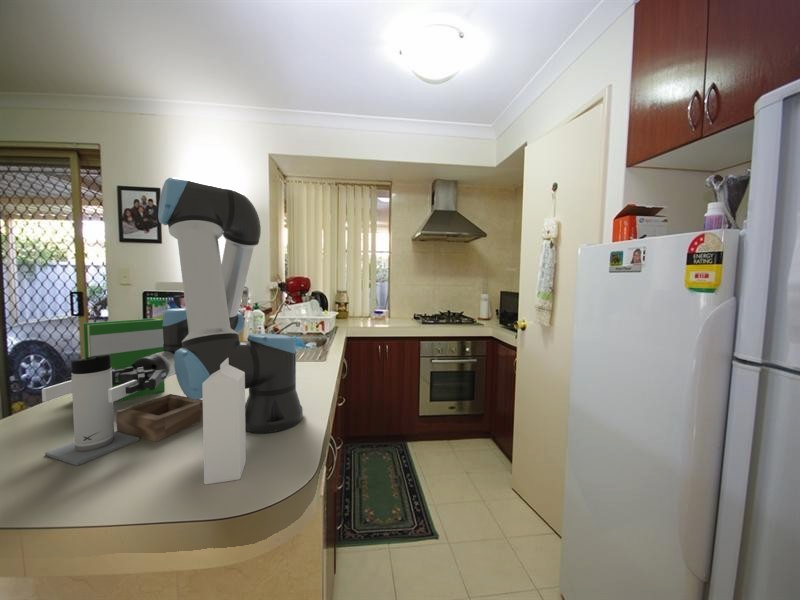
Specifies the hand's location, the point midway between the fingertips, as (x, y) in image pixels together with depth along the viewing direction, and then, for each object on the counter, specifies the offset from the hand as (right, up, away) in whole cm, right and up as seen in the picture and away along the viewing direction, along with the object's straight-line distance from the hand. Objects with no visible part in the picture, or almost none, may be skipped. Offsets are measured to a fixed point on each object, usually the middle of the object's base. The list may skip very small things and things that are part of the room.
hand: (76, 395), depth 66 cm
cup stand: (+7, -12, +15) cm, 21 cm away
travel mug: (0, -12, +4) cm, 13 cm away
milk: (+34, -14, -5) cm, 37 cm away
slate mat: (0, -13, +4) cm, 13 cm away
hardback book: (-20, -11, +35) cm, 42 cm away
